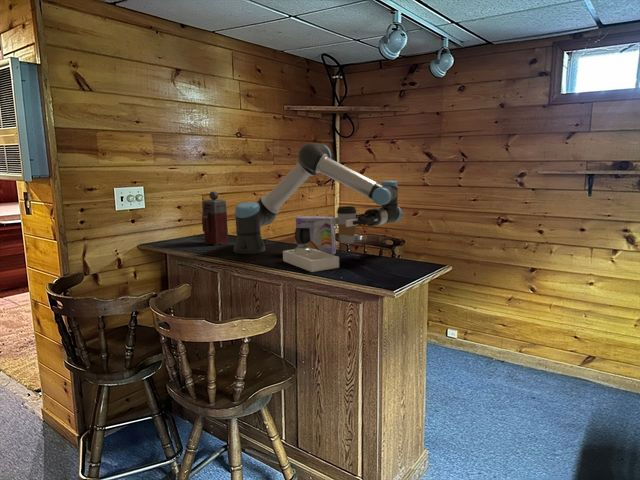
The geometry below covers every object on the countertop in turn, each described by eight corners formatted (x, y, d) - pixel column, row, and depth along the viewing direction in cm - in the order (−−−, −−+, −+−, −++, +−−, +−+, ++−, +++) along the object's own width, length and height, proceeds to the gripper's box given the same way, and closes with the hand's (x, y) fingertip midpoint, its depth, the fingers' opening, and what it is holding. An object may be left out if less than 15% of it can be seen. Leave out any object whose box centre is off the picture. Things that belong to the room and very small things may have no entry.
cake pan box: (294, 253, 226) (293, 216, 223) (299, 251, 231) (298, 215, 228) (332, 256, 218) (331, 217, 215) (336, 254, 223) (335, 216, 220)
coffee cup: (347, 239, 210) (347, 205, 207) (360, 242, 204) (360, 207, 201) (333, 242, 205) (332, 207, 202) (346, 244, 198) (346, 208, 196)
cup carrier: (283, 260, 211) (282, 250, 210) (308, 257, 217) (308, 247, 217) (311, 272, 190) (311, 260, 189) (339, 267, 196) (339, 256, 195)
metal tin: (292, 259, 210) (292, 247, 209) (306, 257, 213) (305, 246, 212) (300, 261, 204) (299, 250, 203) (314, 259, 207) (313, 248, 206)
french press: (201, 245, 253) (197, 192, 248) (216, 241, 263) (213, 190, 258) (214, 246, 249) (210, 192, 244) (228, 242, 258) (225, 190, 253)
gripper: (393, 227, 207) (357, 234, 192) (358, 223, 223) (322, 228, 208) (393, 210, 206) (356, 215, 191) (358, 207, 221) (321, 211, 207)
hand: (338, 222), depth 199 cm, fingers closed on coffee cup, 8 cm apart
